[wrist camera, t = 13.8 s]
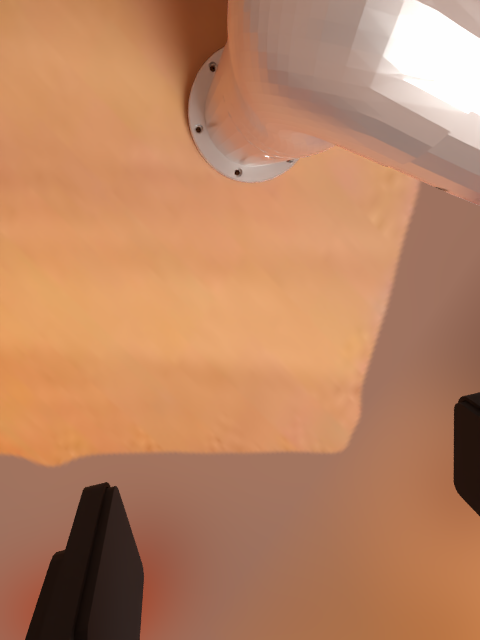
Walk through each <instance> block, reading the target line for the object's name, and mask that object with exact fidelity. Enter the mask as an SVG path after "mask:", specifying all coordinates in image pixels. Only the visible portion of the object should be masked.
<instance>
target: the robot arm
mask: <svg viewBox="0 0 480 640" xmlns="http://www.w3.org/2000/svg"><path fill="white" fill-rule="evenodd" d="M227 34H228V39H227V42H226V45H225V46H224V47H223V48H221V49H220V50H218V51H216V52H215V53H214V54H213V55H212V56H211V57H210V58H209V59H208V60H207V61H206V62H205V63H204V64H203V66H202V67H201V69H200V70H199V72H198V73H197V75H196V78H195V80H194V82H193V85H192V88H191V92H190V96H189V103H188V122H189V127H190V131H191V135H192V138H193V140H194V143H195V145H196V148H197V149H198V151H199V152H200V154H201V155H202V157H203V158H204V160H205V161H206V162H207V163H208V164H209V165H210V166H211V167H212V168H213V169H215V170H216V171H217V172H219V173H220V174H221V175H224V176H226V177H228V178H230V179H232V180H236V181H240V182H247V183H256V182H264V181H267V180H271V179H274V178H276V177H278V176H280V175H282V174H283V173H285V172H286V171H287V170H289V169H290V168H291V167H292V166H293V165H294V164H295V163H296V162H297V161H298V160H299V159H300V158H303V157H308V156H311V155H315V154H318V153H321V152H323V151H326V150H328V149H330V148H332V147H333V146H335V145H337V146H339V147H342V148H344V149H347V150H349V151H351V152H353V153H356V154H358V155H360V156H363V157H365V158H367V159H369V160H372V161H374V162H376V163H378V164H381V165H383V166H386V167H391V168H393V169H395V170H398V171H400V172H402V173H404V174H407V175H409V176H411V177H413V178H416V179H418V180H420V181H422V182H425V183H427V184H429V185H431V186H434V187H436V188H438V189H441V190H443V191H445V192H448V193H449V194H452V195H454V196H456V197H460V198H462V199H465V200H467V201H469V202H472V203H474V204H477V205H480V0H228V11H227ZM211 66H212V67H214V68H215V71H214V72H212V71H210V67H211ZM197 127H199V128H200V129H201V132H199V133H198V132H196V128H197ZM288 160H289V161H288ZM287 161H288V162H287ZM235 170H238V171H239V175H235ZM454 485H455V488H456V490H457V492H458V493H459V495H460V496H461V497H462V498H463V499H464V500H465V501H466V502H467V503H468V504H469V505H470V506H471V508H472V509H473V510H474V511H475V512H476V513H477V514H478V515H479V516H480V393H475V394H471V395H467V396H463V397H461V398H460V399H459V401H458V403H457V404H456V405H455V407H454ZM143 582H144V573H143V566H142V562H141V559H140V556H139V552H138V549H137V546H136V543H135V540H134V537H133V534H132V530H131V527H130V524H129V521H128V518H127V515H126V512H125V509H124V505H123V502H122V499H121V496H120V493H119V490H118V488H117V487H116V486H114V487H110V485H109V483H107V482H106V483H102V484H98V485H93V486H90V487H85V488H84V490H83V492H82V495H81V499H80V502H79V505H78V509H77V512H76V516H75V519H74V522H73V526H72V529H71V533H70V536H69V539H68V542H67V546H66V549H65V550H63V551H59V552H56V553H55V554H54V555H53V557H52V560H51V562H50V565H49V568H48V571H47V574H46V577H45V580H44V583H43V586H42V589H41V592H40V595H39V598H38V602H37V605H36V608H35V611H34V614H33V617H32V620H31V623H30V626H29V629H28V632H27V635H26V639H25V640H140V626H141V612H142V598H143V584H144V583H143Z"/></svg>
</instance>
